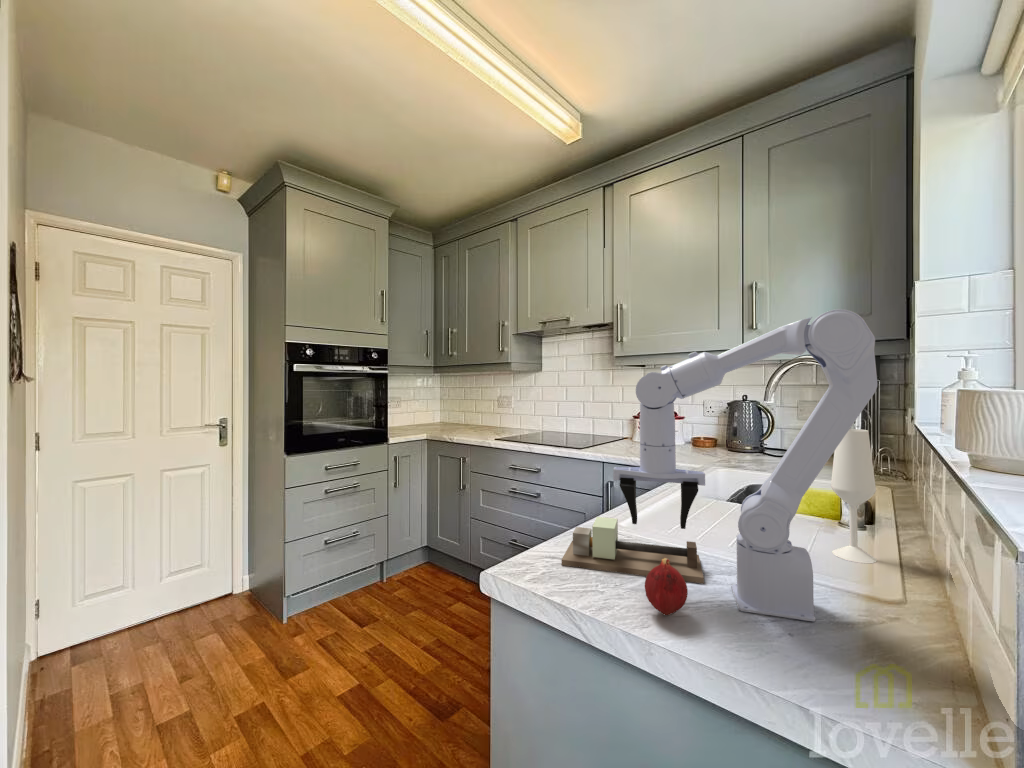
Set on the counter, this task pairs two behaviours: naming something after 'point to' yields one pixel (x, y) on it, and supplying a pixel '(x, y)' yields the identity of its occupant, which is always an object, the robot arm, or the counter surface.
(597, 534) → the sleeve
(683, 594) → the onion
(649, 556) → the cord board
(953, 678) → the counter surface
